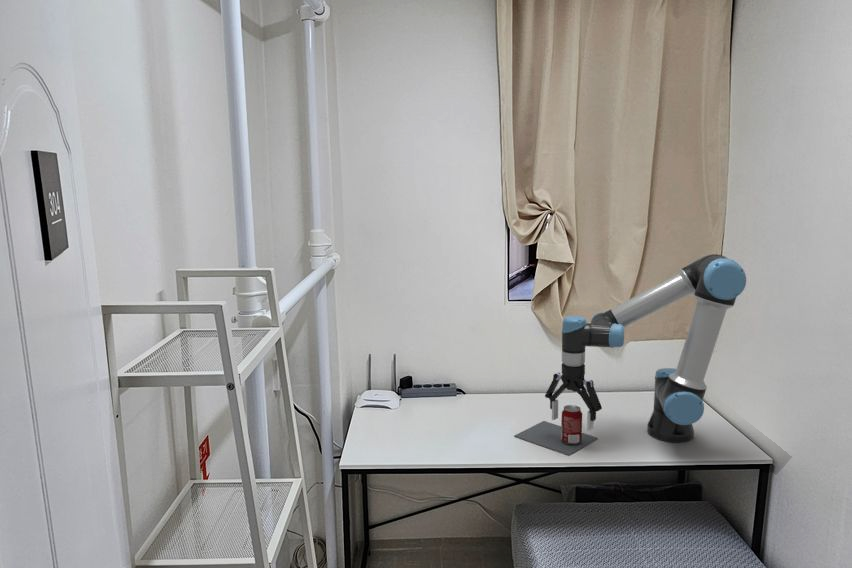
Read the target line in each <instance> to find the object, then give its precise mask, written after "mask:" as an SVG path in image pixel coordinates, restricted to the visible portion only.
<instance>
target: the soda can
mask: <svg viewBox="0 0 852 568" xmlns="http://www.w3.org/2000/svg"><path fill="white" fill-rule="evenodd" d="M581 409H582V408H581V407H580V406H577V405H572V404H568V405H564V406H563V409H562V411H561V419H560V420H561V425H560V426H561V440H562V441H563V442H564V443H566V444H569V445H576V444H578V443H580V442H581V441H582V433H583V432H582V431H583V412H582V410H581Z"/></svg>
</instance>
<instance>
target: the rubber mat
mask: <svg viewBox="0 0 852 568" xmlns="http://www.w3.org/2000/svg"><path fill="white" fill-rule="evenodd" d="M513 436H514V438H517V439H520V440H522V441H525V442H529V443H532V444H534V445H537V446H540V447H543V448H546V449H549V450H551V451H554V452H557V453H560V454H562V455H566V456H568V457H570V456H571V455H573V454H575V453H577V452H579V451H581V450H582V449H583V448H585V447H587V446H588V445H590V444H592V443H593V442H595V441H597V440H598V439H599V438H598V437H596V436H592V435H591V434H590V435H589V434H587V433H584V432H582V441H581V442H580V443H578V444H576V445H569V444H566V443H564V442H563V441H562V440H561V425H558V424H555V423H552V422H549V421H546V420H542V421H540V422H538V423H537V424H534V425H533V426H531V427H529V428H526V429H525V430H523V431H521V432H518V433H515V434H514V435H513Z"/></svg>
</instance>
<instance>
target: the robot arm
mask: <svg viewBox="0 0 852 568" xmlns="http://www.w3.org/2000/svg"><path fill="white" fill-rule="evenodd" d="M746 285H747V275H746V273H745V271H744V269H743V267H742V266H741V264H739V263H738V262H737V261H735V260H733V259H731V258H728V257H727V256H724V255H722V254H718V253H715V254H713V253H712V254H708V255H705V256H702V257H700V258H699V259H697V260H695V261H692V262H691V263H689V264H688V265H686V266H684V267H681V269H679V272H678V274H675V275H673V276H671V277H669V278H668V279H666V280H664V281H662V282H660V283H658V284H657V285H654V286H653V287H651V288H649V289H647V290H645V291H643V292H641V293H638V294H637V295H635V296H634V297H631V298H630V299H628V300H626V301H624V302H622V303H621V304H620V303H619V304H618V305H616V306H615V307H612V308H611V309H609V310H607V311H604V312H598V313H596V314H594V315H593V316H592V318H591V319H590V322H589V323H587V319H586V318H585V317H583V316H577V315H568V316H566V317H564V318H563V320H562V324H561V326H562V327H561V328H562V330H561V372H559V371H558V372H555V373H554V374H553V378H552V380H551V383H550V385H549V386H548V388H547V390H546V393H545V395H544V397H545V398H546V399H549V402H550V403H549V409H550V410H551V420H552V421H555V420H557V419H558V418H559V399H558V397H559V396H560V395H561V394H562V393H563V392H565V390H567V391H573V392H574V393H577V394H578V395H579V396H580V397H581V399H582V401H583V402H584V404H585V406H586V407H587V408H588V410H587V414H586V415H587V421H586V422H587V424H586V425H587V427H586V428H587V429H586V431H589V432H590V431H591V430H593V429H594V425H595V424H594V423H595V421H596V419H597V412H599V411H601V410H602V409H603V408H602V404H601V402H600V399H599V397H598V393H597V392H596V390H595V386H594V385H595V384H594V380H592V379H590V380H586V378H585V375H586V364H585V363H586V347H594V348H596V347H597V348H622V347H623V346H624V343H625V328H626V327H628V326H630V325H631V324H634V323H636V322H637V321H639V320H641V319H643V318H645V317H647V316H649V315H651V314H653V313H655V312H657V311H659V310H661V309H663V308H665V307H667V306H669V305H670V304H673V303H675V302H677V301H679V300H681V299H684V297H687V296H689V295H694V298H695V299H696V301H697V303H696V306H695V309H694V311H693V312H694V313H693V314H692V319H691V322H690V325H689V328H688V331H687V335H686V337H685V341H684V344H683V348H682V350H681V353H680V356H679V359H678V362H677V366H676V368H670V367H669V368H668V367H664V368H663V367H662V368H658V369H656V371H655V377H654V397H653V411H652V413H651V415H650V418H649V421H648V422H647V426H646V431H647V434H648V435H649V436H651V437H652V438H655V439H657V440H660V441H663V442H669V443H687V442H690V441H691V440H693V439H694V435H695V430H694V426H693V424H694V423H697V422H699V420H700V419H701V418H702V417H703V415H704V413H705V403H704V400H703V399H705V398H704V397H705V394H706V391H707V389H708V388H707V387H708V386H707V385H706V383H705V381H704V380H705V377H706V375H707V371H708V367H709V365H710V362H711V359H712V355H713V354H714V353H713V352H714V349H715V347H716V343H717V340H718V338H719V335H720V331H721V328H722V325H723V323H724V320H725V316H726V313H727V310H728V309H730V308H733V307H734V305H735V303H736V299H737V297H738V296H740V295H741V294H742V293H743V292H744V290H745V288H746ZM560 381H561V382H562V384H561V385H560V386H559V387H558V389H557V390H556V388H557V386H558V384H559V383H560ZM555 390H556V391H555Z"/></svg>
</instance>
